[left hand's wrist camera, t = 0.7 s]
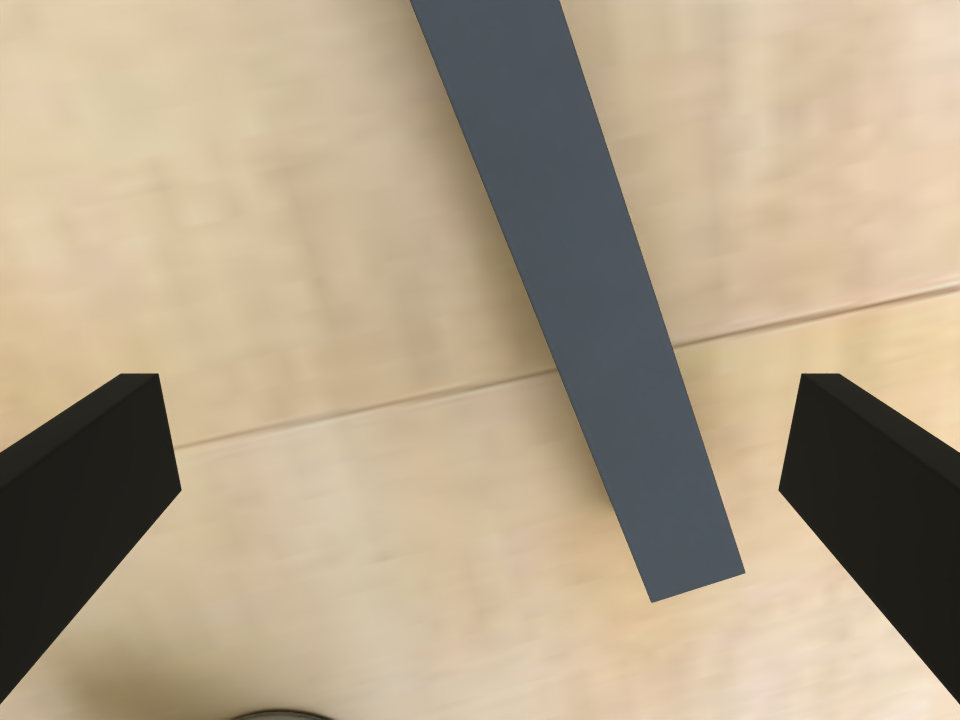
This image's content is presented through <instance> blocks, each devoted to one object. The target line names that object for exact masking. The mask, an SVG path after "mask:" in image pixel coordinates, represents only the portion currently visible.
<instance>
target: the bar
mask: <svg viewBox="0 0 960 720" xmlns="http://www.w3.org/2000/svg"><path fill="white" fill-rule="evenodd" d="M410 2H411V4H412V7H413V9H414V12H415V14H416V17H417V19H418V22H419V24H420V27H421V29H422V32H423V34H424V37H425V39H426V42H427V44H428V47H429V49H430V52H431V54H432V57H433V59H434V62H435V64H436V67H437V69H438V72H439V74H440V77H441V79H442V82H443V84H444V87H445V89H446V92H447V94H448V97H449V99H450V102H451V104H452V107H453V109H454V112H455V114H456V117H457V119H458V122H459V124H460V127H461V129H462V132H463V134H464V136H465V139H466V141H467V144H468V146H469V149H470V151H471V154H472V156H473V159H474V161H475V164H476V166H477V169H478V171H479V174H480V176H481V179H482V181H483V184H484V186H485V189H486V191H487V194H488V196H489V199H490V201H491V204H492V206H493V209H494V211H495V214H496V216H497V219H498V221H499V224H500V226H501V229H502V231H503V234H504V236H505V239H506V241H507V244H508V246H509V249H510V251H511V254H512V256H513V259H514V261H515V264H516V266H517V269H518V271H519V274H520V276H521V279H522V281H523V284H524V286H525V289H526V291H527V294H528V296H529V299H530V301H531V304H532V306H533V309H534V311H535V314H536V316H537V319H538V321H539V324H540V326H541V329H542V331H543V334H544V336H545V339H546V341H547V344H548V346H549V349H550V351H551V354H552V356H553V359H554V361H555V364H556V366H557V369H558V371H559V374H560V376H561V379H562V381H563V383H564V386H565V388H566V391H567V393H568V396H569V398H570V401H571V403H572V406H573V408H574V411H575V413H576V416H577V418H578V421H579V423H580V426H581V428H582V431H583V433H584V436H585V438H586V441H587V443H588V446H589V448H590V451H591V453H592V456H593V458H594V461H595V463H596V466H597V468H598V471H599V473H600V476H601V478H602V481H603V483H604V486H605V488H606V491H607V493H608V496H609V498H610V501H611V503H612V506H613V508H614V511H615V513H616V516H617V518H618V521H619V523H620V526H621V528H622V531H623V533H624V536H625V538H626V541H627V543H628V546H629V548H630V551H631V553H632V556H633V558H634V561H635V563H636V566H637V568H638V571H639V573H640V576H641V578H642V581H643V583H644V586H645V588H646V591H647V593H648V596H649V598H650V601H651V602H652V603H653V602H656V601H659V600H662V599H666V598H669V597H672V596H675V595H678V594H681V593H684V592H688V591H691V590H694V589H697V588H700V587H703V586H707V585H710V584H713V583H716V582H719V581H722V580H725V579H729V578H732V577H735V576H738V575H741V574H744V573H745V570H744V567H743V563H742V560H741V557H740V554H739V551H738V548H737V545H736V542H735V539H734V536H733V533H732V530H731V527H730V523H729V520H728V517H727V514H726V511H725V508H724V505H723V502H722V499H721V496H720V493H719V490H718V487H717V484H716V480H715V477H714V474H713V471H712V468H711V465H710V462H709V459H708V456H707V453H706V450H705V447H704V444H703V440H702V437H701V434H700V431H699V428H698V425H697V422H696V419H695V416H694V413H693V410H692V407H691V404H690V401H689V397H688V394H687V391H686V388H685V385H684V382H683V379H682V376H681V373H680V370H679V367H678V364H677V361H676V357H675V354H674V351H673V348H672V345H671V342H670V339H669V336H668V333H667V330H666V327H665V324H664V321H663V318H662V314H661V311H660V308H659V305H658V302H657V299H656V296H655V293H654V290H653V287H652V284H651V281H650V278H649V275H648V271H647V268H646V265H645V262H644V259H643V256H642V253H641V250H640V247H639V244H638V241H637V238H636V235H635V231H634V228H633V225H632V222H631V219H630V216H629V213H628V210H627V207H626V204H625V201H624V198H623V195H622V192H621V188H620V185H619V182H618V179H617V176H616V173H615V170H614V167H613V164H612V161H611V158H610V155H609V152H608V148H607V145H606V142H605V139H604V136H603V133H602V130H601V127H600V124H599V121H598V118H597V115H596V112H595V109H594V105H593V102H592V99H591V96H590V93H589V90H588V87H587V84H586V81H585V78H584V75H583V72H582V69H581V65H580V62H579V59H578V56H577V53H576V50H575V47H574V44H573V41H572V38H571V35H570V32H569V29H568V26H567V22H566V19H565V16H564V13H563V10H562V7H561V4H560V1H559V0H410Z"/></svg>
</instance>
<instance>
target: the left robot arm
mask: <svg viewBox="0 0 960 720" xmlns="http://www.w3.org/2000/svg"><path fill="white" fill-rule="evenodd" d="M180 492H181V485H180V480H179V475H178V470H177V465H176V460H175V454H174V449H173V444H172V439H171V434H170V429H169V424H168V419H167V414H166V409H165V404H164V399H163V394H162V389H161V384H160V379H159V374H120V375H118V376H116V377H115V378H113V379H112V380H110V381H109V382H107V383H106V384H104V385H103V386H101V387H100V388H98V389H97V390H95V391H94V392H92V393H91V394H89V395H88V396H86V397H84V398H83V399H81V400H80V401H78V402H77V403H75V404H74V405H72V406H71V407H69V408H68V409H66V410H65V411H63V412H62V413H60V414H59V415H57V416H56V417H54V418H52V419H51V420H49V421H48V422H46V423H45V424H43V425H42V426H40V427H39V428H37V429H36V430H34V431H33V432H31V433H30V434H28V435H27V436H25V437H24V438H22V439H20V440H19V441H17V442H16V443H14V444H13V445H11V446H10V447H8V448H7V449H5V450H4V451H2V452H1V453H0V704H1V703H2V702H3V701H4V699H5V698H6V697H7V696H8V695H9V693H10V692H11V691H12V690H13V689H14V688H15V686H16V685H17V684H18V683H19V682H20V680H21V679H22V678H23V677H24V676H25V675H26V673H27V672H28V671H29V670H30V669H31V667H32V666H33V665H34V664H35V663H36V662H37V660H38V659H39V658H40V657H41V656H42V654H43V653H44V652H45V651H46V650H47V649H48V647H49V646H50V645H51V644H52V643H53V641H54V640H55V639H56V638H57V637H58V636H59V634H60V633H61V632H62V631H63V630H64V629H65V627H66V626H67V625H68V624H69V623H70V621H71V620H72V619H73V618H74V617H75V616H76V614H77V613H78V612H79V611H80V610H81V608H82V607H83V606H84V605H85V604H86V603H87V601H88V600H89V599H90V598H91V597H92V595H93V594H94V593H95V592H96V591H97V590H98V588H99V587H100V586H101V585H102V584H103V582H104V581H105V580H106V579H107V578H108V577H109V575H110V574H111V573H112V572H113V571H114V569H115V568H116V567H117V566H118V565H119V564H120V562H121V561H122V560H123V559H124V558H125V556H126V555H127V554H128V553H129V552H130V551H131V549H132V548H133V547H134V546H135V545H136V543H137V542H138V541H139V540H140V539H141V538H142V536H143V535H144V534H145V533H146V532H147V530H148V529H149V528H150V527H151V526H152V525H153V523H154V522H155V521H156V520H157V519H158V518H159V516H160V515H161V514H162V513H163V512H164V510H165V509H166V508H167V507H168V506H169V505H170V503H171V502H172V501H173V500H174V499H175V497H176V496H177V495H178V494H179V493H180ZM779 492H780V493H781V494H782V495H783V496H784V497H785V499H786V500H787V501H788V502H789V503H790V505H791V506H792V507H793V508H794V509H795V510H796V512H797V513H798V514H799V515H800V516H801V518H802V519H803V520H804V521H805V522H806V523H807V525H808V526H809V527H810V528H811V529H812V530H813V532H814V533H815V534H816V535H817V536H818V538H819V539H820V540H821V541H822V542H823V543H824V545H825V546H826V547H827V548H828V549H829V551H830V552H831V553H832V554H833V555H834V556H835V558H836V559H837V560H838V561H839V562H840V564H841V565H842V566H843V567H844V568H845V569H846V571H847V572H848V573H849V574H850V575H851V577H852V578H853V579H854V580H855V581H856V582H857V584H858V585H859V586H860V587H861V588H862V590H863V591H864V592H865V593H866V594H867V595H868V597H869V598H870V599H871V600H872V601H873V603H874V604H875V605H876V606H877V607H878V608H879V610H880V611H881V612H882V613H883V614H884V616H885V617H886V618H887V619H888V620H889V621H890V623H891V624H892V625H893V626H894V627H895V629H896V630H897V631H898V632H899V633H900V634H901V636H902V637H903V638H904V639H905V640H906V641H907V643H908V644H909V645H910V646H911V647H912V649H913V650H914V651H915V652H916V653H917V654H918V656H919V657H920V658H921V659H922V660H923V662H924V663H925V664H926V665H927V666H928V667H929V669H930V670H931V671H932V672H933V673H934V675H935V676H936V677H937V678H938V679H939V680H940V682H941V683H942V684H943V685H944V686H945V688H946V689H947V690H948V691H949V692H950V693H951V695H952V696H953V697H954V698H955V699H956V701H957V702H958V703H959V704H960V453H959V452H958V451H956V450H955V449H953V448H952V447H950V446H949V445H947V444H946V443H944V442H943V441H941V440H940V439H938V438H936V437H935V436H933V435H932V434H930V433H929V432H927V431H926V430H924V429H923V428H921V427H920V426H918V425H917V424H915V423H914V422H912V421H911V420H909V419H908V418H906V417H904V416H903V415H901V414H900V413H898V412H897V411H895V410H894V409H892V408H891V407H889V406H888V405H886V404H885V403H883V402H882V401H880V400H879V399H877V398H876V397H874V396H872V395H871V394H869V393H868V392H866V391H865V390H863V389H862V388H860V387H859V386H857V385H856V384H854V383H853V382H851V381H850V380H848V379H847V378H845V377H844V376H842V375H840V374H801V379H800V384H799V389H798V394H797V399H796V404H795V409H794V414H793V419H792V424H791V429H790V434H789V439H788V444H787V449H786V454H785V460H784V465H783V470H782V475H781V480H780V485H779ZM234 720H325V719H322V718H318V717H315V716H311V715H306V714H301V713H294V712H263V713H256V714H251V715H247V716H243V717H240V718H237V719H234Z"/></svg>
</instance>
